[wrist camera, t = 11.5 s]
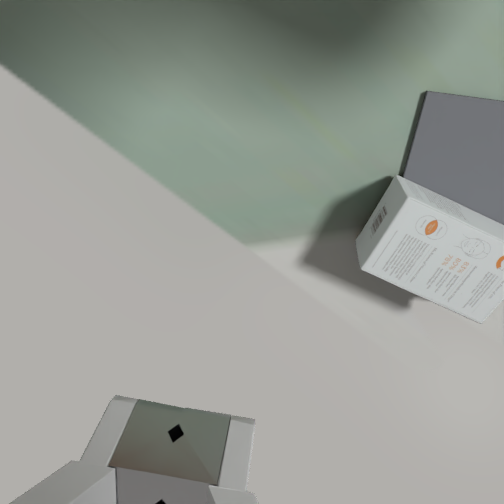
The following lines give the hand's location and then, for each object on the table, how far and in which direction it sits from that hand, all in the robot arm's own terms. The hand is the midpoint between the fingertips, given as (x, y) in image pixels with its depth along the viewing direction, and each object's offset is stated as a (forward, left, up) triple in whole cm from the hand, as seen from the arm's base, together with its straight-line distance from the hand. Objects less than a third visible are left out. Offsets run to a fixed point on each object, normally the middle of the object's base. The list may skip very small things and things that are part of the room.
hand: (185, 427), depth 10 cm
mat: (+6, +19, -37) cm, 42 cm away
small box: (+8, +10, -34) cm, 36 cm away
